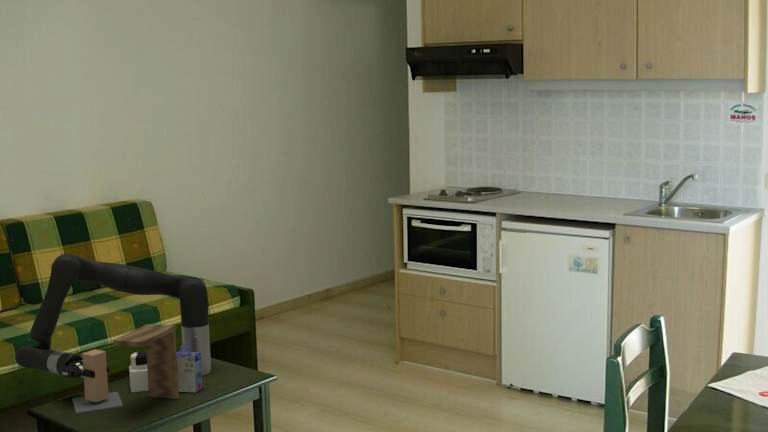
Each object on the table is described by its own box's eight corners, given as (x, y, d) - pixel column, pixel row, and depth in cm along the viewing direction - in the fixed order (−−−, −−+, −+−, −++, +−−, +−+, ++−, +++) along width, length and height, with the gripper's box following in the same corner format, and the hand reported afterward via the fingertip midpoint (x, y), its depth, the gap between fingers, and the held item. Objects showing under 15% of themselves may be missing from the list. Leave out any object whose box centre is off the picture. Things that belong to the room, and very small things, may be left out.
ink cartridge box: (203, 387, 303) (201, 345, 301) (196, 393, 298) (194, 349, 295) (175, 386, 305) (173, 344, 303) (168, 391, 300) (165, 348, 297)
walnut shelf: (118, 415, 279) (113, 340, 276) (151, 394, 297) (147, 324, 294) (146, 418, 276) (142, 342, 273) (178, 397, 294) (175, 325, 291)
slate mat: (72, 400, 293) (72, 398, 293) (117, 393, 299) (117, 391, 299) (76, 414, 281) (75, 412, 281) (123, 407, 286) (123, 405, 286)
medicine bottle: (152, 383, 308) (150, 349, 306) (153, 390, 301) (151, 354, 300) (130, 386, 306) (128, 351, 304) (131, 392, 299) (129, 357, 297)
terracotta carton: (85, 399, 289) (82, 353, 286) (98, 394, 293) (95, 349, 291) (96, 402, 286) (93, 355, 284) (108, 397, 290) (105, 351, 288)
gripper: (45, 358, 289) (81, 366, 280) (82, 347, 301) (118, 354, 292) (47, 381, 290) (83, 390, 281) (83, 369, 302) (119, 377, 293)
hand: (101, 372), depth 287 cm, fingers closed on terracotta carton, 5 cm apart
